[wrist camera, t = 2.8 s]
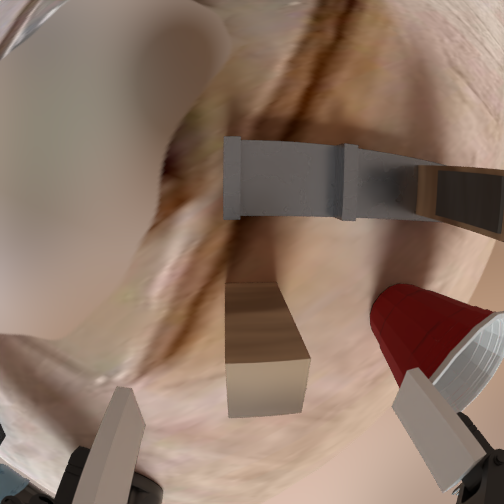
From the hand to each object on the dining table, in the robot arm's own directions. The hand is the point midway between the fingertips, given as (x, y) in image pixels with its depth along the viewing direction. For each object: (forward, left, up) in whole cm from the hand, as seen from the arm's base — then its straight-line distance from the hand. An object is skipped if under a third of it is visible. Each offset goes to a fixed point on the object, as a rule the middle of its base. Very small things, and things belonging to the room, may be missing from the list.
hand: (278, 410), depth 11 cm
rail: (+8, +10, -12) cm, 17 cm away
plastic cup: (+14, -2, -12) cm, 18 cm away
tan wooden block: (0, 0, -12) cm, 12 cm away
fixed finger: (+15, +10, -9) cm, 20 cm away
